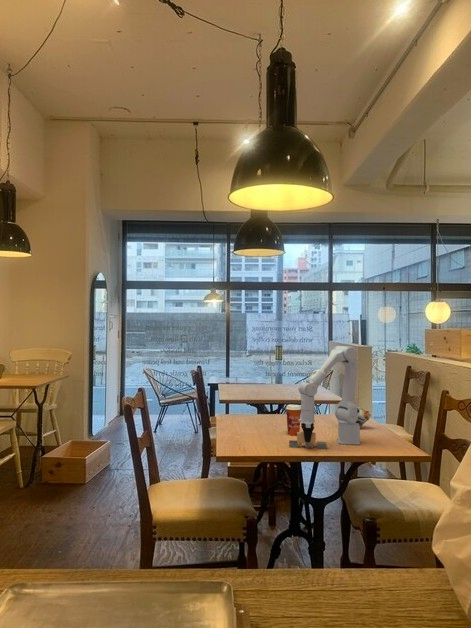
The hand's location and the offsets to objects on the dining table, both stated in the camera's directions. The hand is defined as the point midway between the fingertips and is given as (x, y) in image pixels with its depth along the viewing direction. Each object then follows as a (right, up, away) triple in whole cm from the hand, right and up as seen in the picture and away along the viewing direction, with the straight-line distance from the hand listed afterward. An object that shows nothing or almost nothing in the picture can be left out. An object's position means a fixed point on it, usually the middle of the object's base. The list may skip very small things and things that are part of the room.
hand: (307, 440), depth 190 cm
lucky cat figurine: (+31, -5, +40) cm, 51 cm away
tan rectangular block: (-1, -3, 0) cm, 3 cm away
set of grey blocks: (0, -3, 0) cm, 3 cm away
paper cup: (-3, -4, +22) cm, 23 cm away
